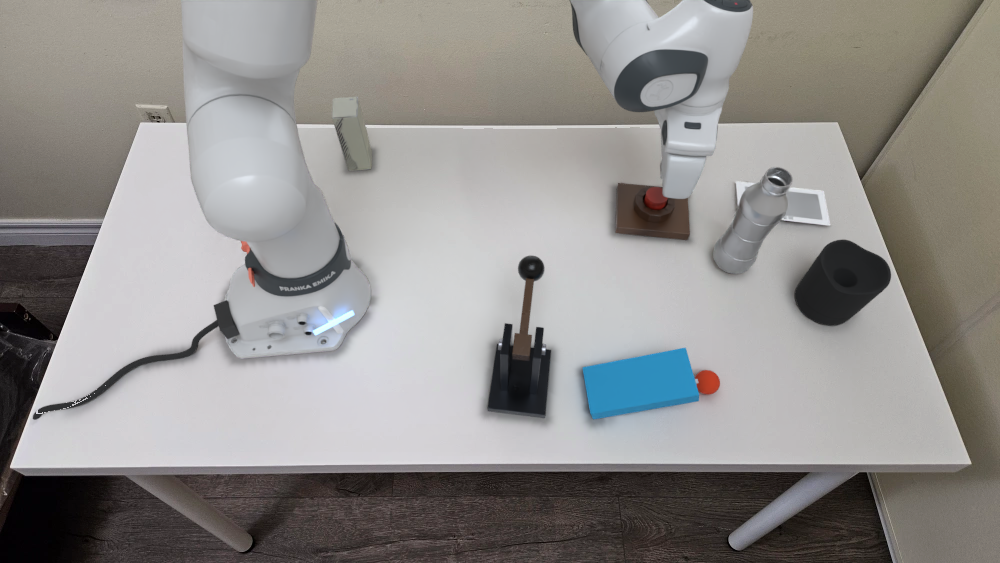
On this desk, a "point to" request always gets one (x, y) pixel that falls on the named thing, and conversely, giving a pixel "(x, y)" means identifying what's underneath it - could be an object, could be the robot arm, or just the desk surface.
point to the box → (352, 133)
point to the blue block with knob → (645, 383)
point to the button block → (650, 214)
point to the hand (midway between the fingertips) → (665, 173)
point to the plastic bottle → (753, 221)
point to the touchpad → (799, 204)
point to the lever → (526, 305)
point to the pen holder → (841, 282)
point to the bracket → (520, 378)
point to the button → (655, 198)
